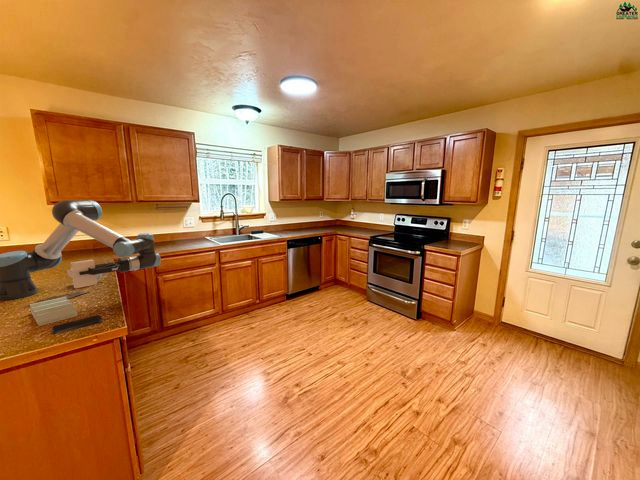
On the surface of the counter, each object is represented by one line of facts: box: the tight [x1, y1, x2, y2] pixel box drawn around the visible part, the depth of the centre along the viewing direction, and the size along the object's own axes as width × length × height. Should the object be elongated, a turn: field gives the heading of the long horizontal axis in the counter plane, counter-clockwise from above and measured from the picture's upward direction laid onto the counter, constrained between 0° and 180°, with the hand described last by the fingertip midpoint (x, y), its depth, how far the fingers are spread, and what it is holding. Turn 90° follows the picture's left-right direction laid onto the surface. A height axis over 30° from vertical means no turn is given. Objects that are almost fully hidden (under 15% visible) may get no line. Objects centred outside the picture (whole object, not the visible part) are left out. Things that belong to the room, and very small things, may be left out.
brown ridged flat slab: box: [21, 290, 91, 309], centre depth 136 cm, size 26×11×1 cm, turn 147°
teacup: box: [96, 272, 109, 282], centre depth 162 cm, size 15×12×8 cm
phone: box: [51, 314, 103, 335], centre depth 109 cm, size 8×1×15 cm
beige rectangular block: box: [70, 259, 98, 289], centre depth 125 cm, size 4×8×12 cm, turn 144°
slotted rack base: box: [29, 297, 78, 327], centre depth 118 cm, size 20×12×4 cm, turn 54°
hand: (68, 273), depth 121 cm, fingers closed on beige rectangular block, 3 cm apart
